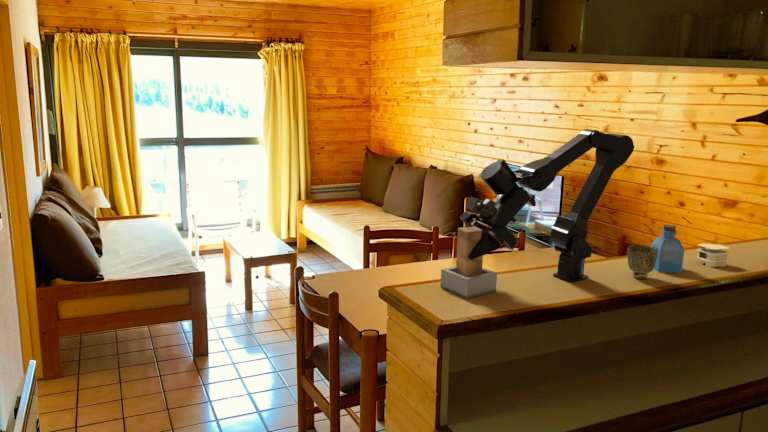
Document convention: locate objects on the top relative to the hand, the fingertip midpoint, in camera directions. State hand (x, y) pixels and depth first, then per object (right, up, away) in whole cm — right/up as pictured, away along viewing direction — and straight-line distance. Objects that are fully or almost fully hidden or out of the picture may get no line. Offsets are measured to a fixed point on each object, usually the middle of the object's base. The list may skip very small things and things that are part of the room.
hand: (464, 255), depth 149 cm
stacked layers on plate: (+72, -5, +26) cm, 77 cm away
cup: (+47, -7, +13) cm, 49 cm away
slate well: (+1, -8, +2) cm, 9 cm away
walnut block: (+1, -6, +2) cm, 7 cm away
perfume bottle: (+57, -5, +21) cm, 61 cm away
